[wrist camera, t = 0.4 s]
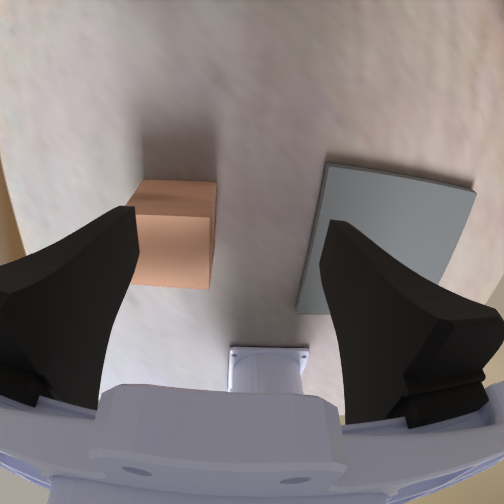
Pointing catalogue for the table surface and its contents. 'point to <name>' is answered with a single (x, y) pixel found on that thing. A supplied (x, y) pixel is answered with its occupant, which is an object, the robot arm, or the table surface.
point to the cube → (175, 233)
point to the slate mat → (387, 222)
